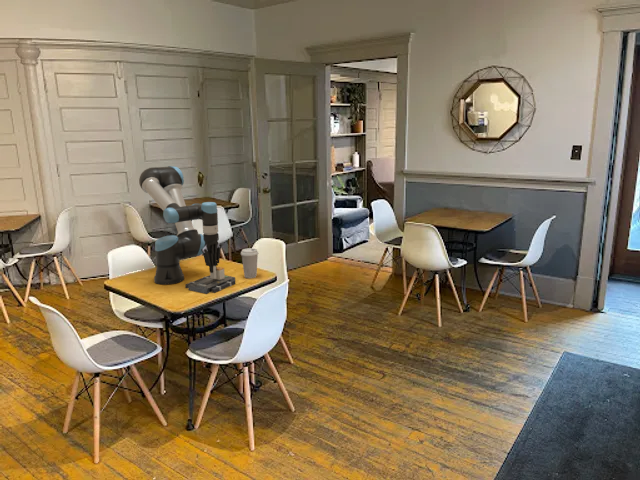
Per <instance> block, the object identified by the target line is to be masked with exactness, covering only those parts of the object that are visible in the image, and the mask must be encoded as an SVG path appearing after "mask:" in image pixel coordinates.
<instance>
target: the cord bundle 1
mask: <svg viewBox="0 0 640 480" xmlns="http://www.w3.org/2000/svg"><path fill="white" fill-rule="evenodd" d="M209 277H210V274H209V275H207V276H203V277H201V278H199V279H195V280H194V281H190V282H188V283H185V284H184V286H185V289H188V285H191V284H193V283H196V282H198V281H201V280H203V279H206V278H209Z"/></svg>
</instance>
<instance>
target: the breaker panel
mask: <svg viewBox="0 0 640 480" xmlns="http://www.w3.org/2000/svg"><path fill="white" fill-rule="evenodd" d="M232 280H234V281H235V282H236V277H235V276H230V275H225V278H224V279H221V280H218V279H213V278H210V277H209V278H206V279H203V280H201V281H198V282H196V283H193V284H191V285H188V288H187V289H188V291H191V292H196V293H200V294H204V295H207V294H210V293H212V289H213V288H215V287H216V286H220V285H222V284H225V283H226V282H229V281H232Z"/></svg>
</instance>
